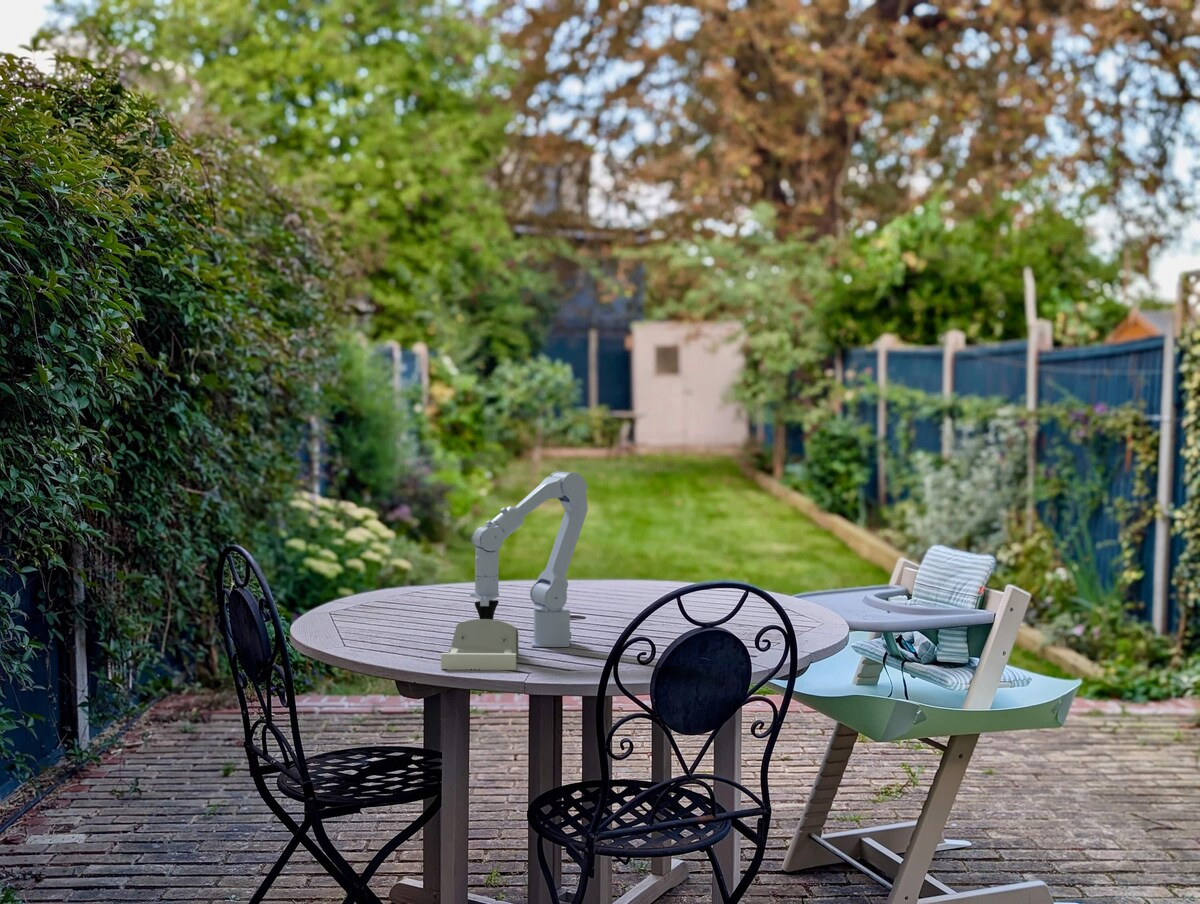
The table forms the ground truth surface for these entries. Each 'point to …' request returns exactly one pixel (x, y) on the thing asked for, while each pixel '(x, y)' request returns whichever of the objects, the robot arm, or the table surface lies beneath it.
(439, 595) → the table surface
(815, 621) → the table surface
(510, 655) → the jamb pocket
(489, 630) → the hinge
